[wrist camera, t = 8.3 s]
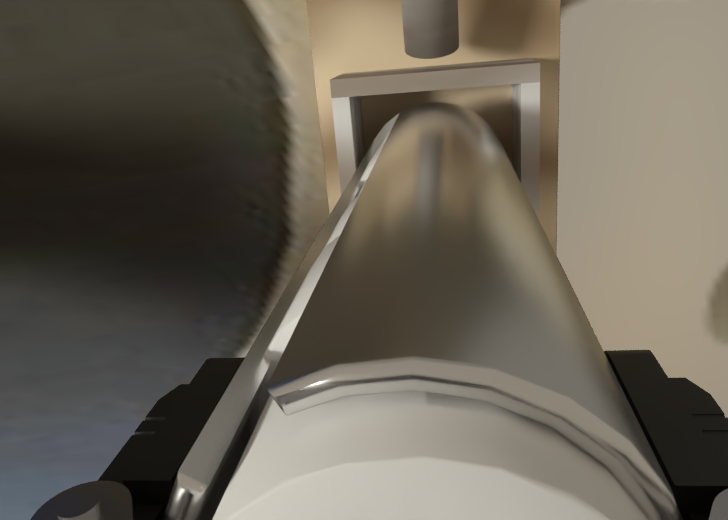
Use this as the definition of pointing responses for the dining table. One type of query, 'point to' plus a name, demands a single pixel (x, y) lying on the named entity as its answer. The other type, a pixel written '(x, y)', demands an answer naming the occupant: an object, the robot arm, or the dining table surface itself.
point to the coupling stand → (440, 79)
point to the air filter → (426, 362)
